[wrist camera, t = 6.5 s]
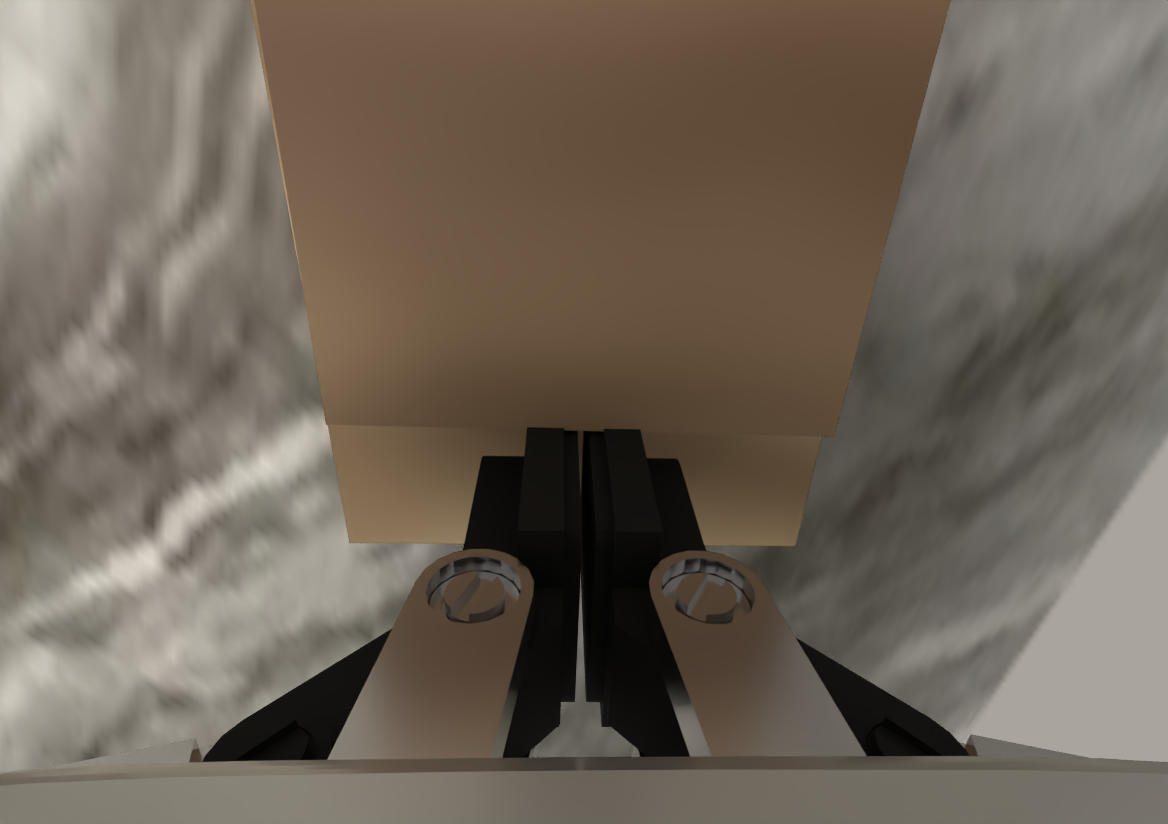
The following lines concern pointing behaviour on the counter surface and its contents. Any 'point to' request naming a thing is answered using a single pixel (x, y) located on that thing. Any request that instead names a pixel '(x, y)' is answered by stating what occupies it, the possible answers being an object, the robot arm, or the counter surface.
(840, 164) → the wooden rectangular block
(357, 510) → the board
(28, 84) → the counter surface
